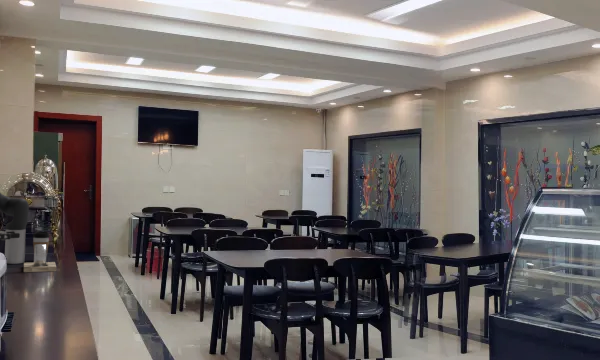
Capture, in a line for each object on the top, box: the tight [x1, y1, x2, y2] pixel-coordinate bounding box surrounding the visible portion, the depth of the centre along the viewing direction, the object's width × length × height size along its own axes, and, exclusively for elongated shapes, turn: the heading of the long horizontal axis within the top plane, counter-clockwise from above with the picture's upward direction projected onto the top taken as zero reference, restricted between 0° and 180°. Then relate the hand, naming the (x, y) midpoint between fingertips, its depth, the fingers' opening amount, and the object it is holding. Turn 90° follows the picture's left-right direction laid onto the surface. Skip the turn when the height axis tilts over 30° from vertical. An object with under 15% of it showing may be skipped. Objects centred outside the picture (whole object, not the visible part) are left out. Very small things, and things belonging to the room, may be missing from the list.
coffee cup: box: [32, 231, 50, 252], centre depth 309 cm, size 8×8×15 cm
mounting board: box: [23, 261, 57, 273], centre depth 279 cm, size 18×14×2 cm
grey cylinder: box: [33, 244, 48, 267], centre depth 277 cm, size 6×5×12 cm
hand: (16, 234), depth 270 cm, fingers open, 8 cm apart
